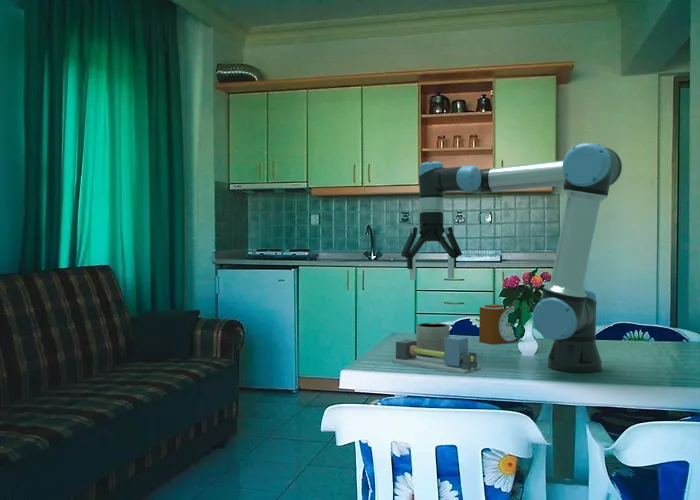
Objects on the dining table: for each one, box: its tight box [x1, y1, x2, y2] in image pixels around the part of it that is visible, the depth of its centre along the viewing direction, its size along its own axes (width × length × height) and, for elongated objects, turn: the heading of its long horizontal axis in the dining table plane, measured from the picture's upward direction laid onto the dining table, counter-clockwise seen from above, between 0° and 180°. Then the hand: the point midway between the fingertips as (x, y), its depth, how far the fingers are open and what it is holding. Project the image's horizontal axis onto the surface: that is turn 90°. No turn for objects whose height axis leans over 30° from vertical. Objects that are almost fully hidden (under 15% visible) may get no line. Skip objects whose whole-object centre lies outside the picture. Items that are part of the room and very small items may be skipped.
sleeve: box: [443, 335, 469, 367], centre depth 193 cm, size 5×5×8 cm
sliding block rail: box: [392, 339, 482, 374], centre depth 198 cm, size 25×10×6 cm, turn 50°
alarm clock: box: [478, 303, 519, 345], centre depth 241 cm, size 15×8×14 cm, turn 123°
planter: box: [415, 322, 450, 358], centre depth 217 cm, size 11×11×10 cm
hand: (432, 279), depth 207 cm, fingers open, 13 cm apart
